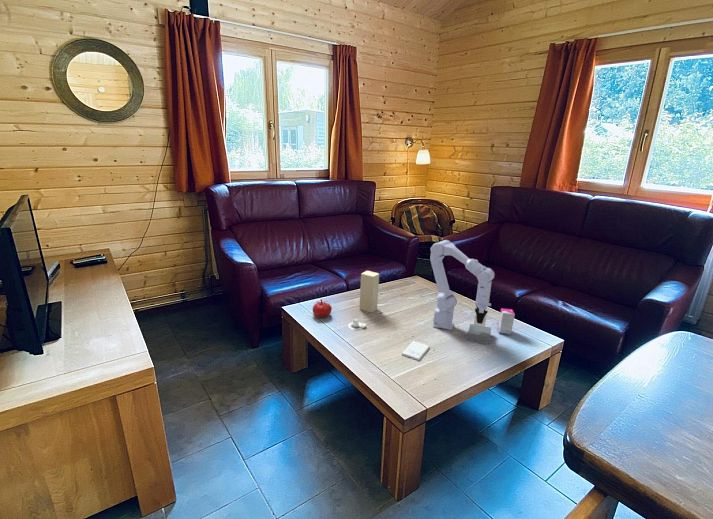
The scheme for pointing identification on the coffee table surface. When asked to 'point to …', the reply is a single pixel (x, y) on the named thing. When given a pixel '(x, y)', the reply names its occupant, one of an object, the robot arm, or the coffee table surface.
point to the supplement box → (506, 321)
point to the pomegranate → (321, 309)
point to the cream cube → (479, 323)
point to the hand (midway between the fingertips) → (479, 320)
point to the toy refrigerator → (369, 291)
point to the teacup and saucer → (356, 324)
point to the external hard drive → (415, 350)
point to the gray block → (479, 333)
